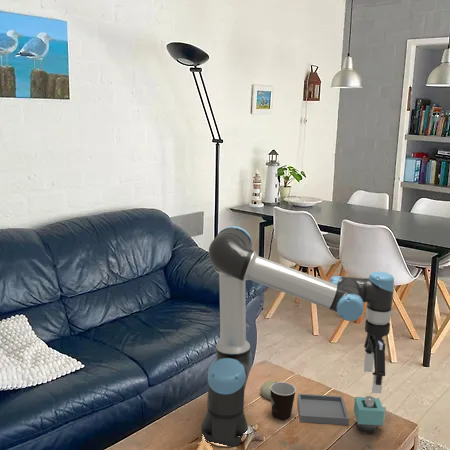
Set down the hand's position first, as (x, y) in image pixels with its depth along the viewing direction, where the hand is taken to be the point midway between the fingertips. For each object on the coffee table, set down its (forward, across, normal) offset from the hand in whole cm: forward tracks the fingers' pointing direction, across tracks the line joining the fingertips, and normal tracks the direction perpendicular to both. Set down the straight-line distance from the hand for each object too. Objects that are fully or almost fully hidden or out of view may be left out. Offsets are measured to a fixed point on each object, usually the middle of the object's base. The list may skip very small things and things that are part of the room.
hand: (372, 381), depth 172 cm
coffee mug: (+17, +6, +28) cm, 34 cm away
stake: (+17, 0, 0) cm, 17 cm away
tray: (+17, +8, +14) cm, 24 cm away
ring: (+13, 0, 0) cm, 13 cm away
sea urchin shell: (+17, +17, +31) cm, 40 cm away
